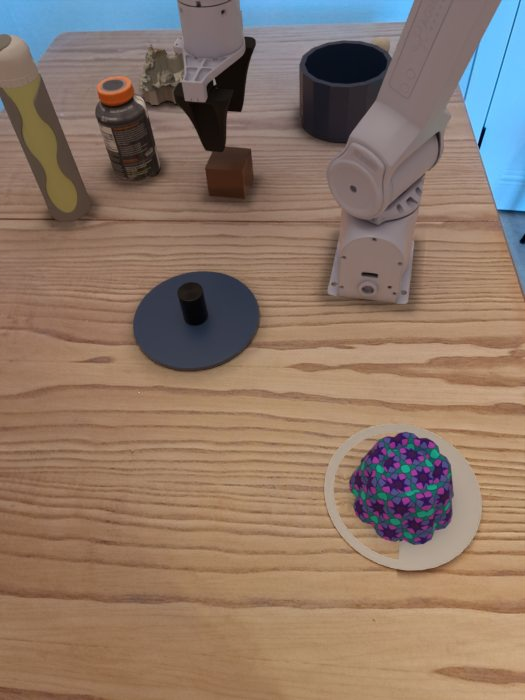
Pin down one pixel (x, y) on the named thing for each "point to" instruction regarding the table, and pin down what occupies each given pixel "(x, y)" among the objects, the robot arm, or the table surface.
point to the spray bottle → (40, 132)
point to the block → (230, 172)
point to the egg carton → (161, 75)
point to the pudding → (410, 496)
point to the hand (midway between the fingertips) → (224, 129)
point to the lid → (196, 321)
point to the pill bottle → (126, 130)
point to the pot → (339, 86)
